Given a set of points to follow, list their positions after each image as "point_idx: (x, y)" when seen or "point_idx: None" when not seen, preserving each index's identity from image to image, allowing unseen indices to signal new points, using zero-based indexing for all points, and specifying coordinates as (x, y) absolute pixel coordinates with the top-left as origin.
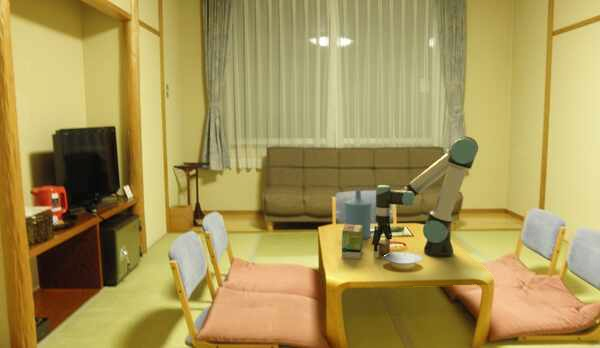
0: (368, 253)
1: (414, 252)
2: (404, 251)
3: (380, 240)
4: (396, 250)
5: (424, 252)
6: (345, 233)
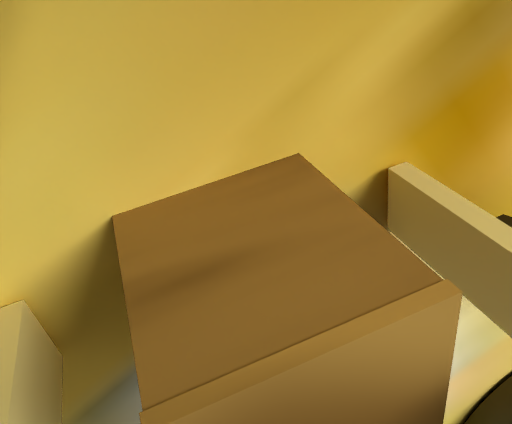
0: (68, 94)
1: (485, 345)
2: None
3: (385, 372)
4: None
5: (501, 390)
6: None
